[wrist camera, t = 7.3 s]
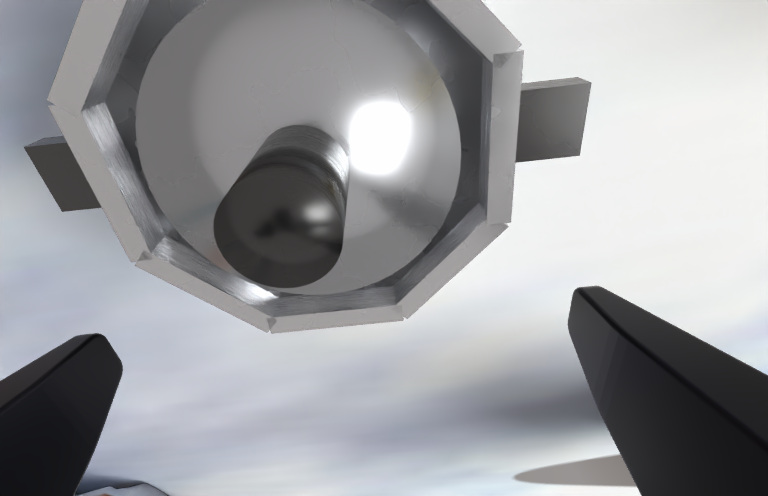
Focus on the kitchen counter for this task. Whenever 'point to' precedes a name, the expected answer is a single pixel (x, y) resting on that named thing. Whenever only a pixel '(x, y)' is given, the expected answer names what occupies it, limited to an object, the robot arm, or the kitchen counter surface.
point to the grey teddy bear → (126, 491)
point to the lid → (298, 141)
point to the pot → (259, 304)
